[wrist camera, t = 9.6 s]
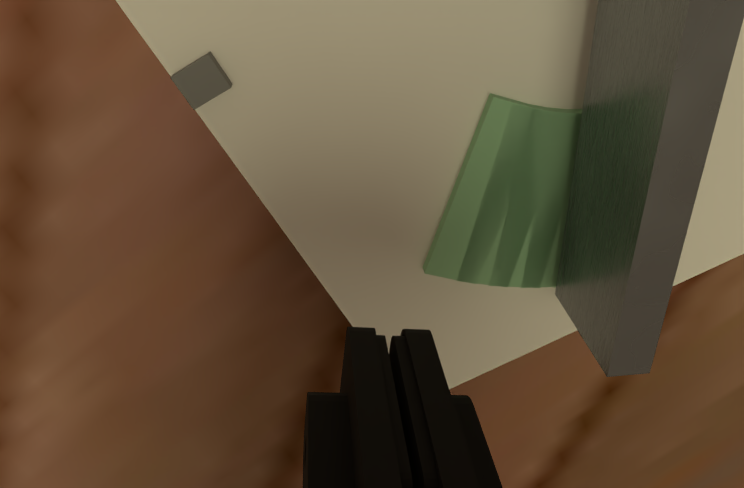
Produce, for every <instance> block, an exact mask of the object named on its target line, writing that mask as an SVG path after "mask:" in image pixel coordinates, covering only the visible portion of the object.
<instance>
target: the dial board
mask: <svg viewBox="0 0 744 488" xmlns="http://www.w3.org/2000/svg"><path fill="white" fill-rule="evenodd" d="M116 2H117V3H118V4H119V6H120V7H121V9H122V10H123V11H124V13H125V14H126V15H127V17H128V18H129V20H130V21H131V22H132V24H133V25H134V26H135V28H136V29H137V31H138V32H139V33H140V35H141V36H142V37H143V39H144V40H145V42H146V43H147V44H148V46H149V47H150V48H151V50H152V51H153V53H154V54H155V55H156V57H157V58H158V59H159V61H160V62H161V64H162V65H163V66H164V68H165V69H166V70H167V72H168V73H169V75H170V76H171V79H172V81H173V82H174V83H175V85H176V86H177V87H178V89H179V90H180V92H181V93H182V94H183V96H184V97H185V98H186V100H187V101H188V103H189V104H190V105H191V107H192V108H193V109H194V110H196V112H197V113H198V115H199V116H200V117H201V119H202V120H203V121H204V123H205V124H206V126H207V127H208V128H209V130H210V131H211V132H212V134H213V135H214V137H215V138H216V139H217V141H218V142H219V143H220V145H221V146H222V148H223V149H224V150H225V152H226V153H227V154H228V156H229V157H230V159H231V160H232V161H233V163H234V164H235V165H236V167H237V168H238V170H239V171H240V172H241V174H242V175H243V176H244V178H245V179H246V181H247V182H248V183H249V185H250V186H251V187H252V189H253V190H254V192H255V193H256V194H257V196H258V197H259V198H260V200H261V201H262V203H263V204H264V205H265V207H266V208H267V209H268V211H269V212H270V214H271V215H272V216H273V218H274V219H275V220H276V222H277V223H278V225H279V226H280V227H281V229H282V230H283V231H284V233H285V234H286V236H287V237H288V238H289V240H290V241H291V242H292V244H293V245H294V247H295V248H296V249H297V251H298V252H299V253H300V255H301V256H302V258H303V259H304V260H305V262H306V263H307V264H308V266H309V267H310V269H311V270H312V271H313V273H314V274H315V275H316V277H317V278H318V280H319V281H320V282H321V284H322V285H323V286H324V288H325V289H326V291H327V292H328V293H329V295H330V296H331V297H332V299H333V300H334V302H335V303H336V304H337V306H338V307H339V308H340V310H341V311H342V313H343V314H344V315H345V317H346V318H347V319H348V321H349V322H350V324H351V325H352V326H353V327H368V328H375V330H376V335H385V337H386V342H387V347H388V353H389V349H390V342H391V338H392V336H400V335H401V331H402V330H403V329H424V330H430V331H431V333H432V336H433V339H434V342H435V346H436V349H437V352H438V355H439V359H440V362H441V365H442V368H443V371H444V375H445V378H446V381H447V384H448V387H449V389H451V388H453V387H455V386H458V385H460V384H462V383H464V382H466V381H468V380H471V379H473V378H475V377H477V376H479V375H481V374H484V373H486V372H488V371H490V370H492V369H494V368H497V367H499V366H501V365H503V364H505V363H507V362H510V361H512V360H514V359H516V358H518V357H520V356H523V355H525V354H527V353H529V352H531V351H533V350H536V349H538V348H540V347H542V346H544V345H546V344H549V343H551V342H553V341H555V340H557V339H559V338H562V337H564V336H566V335H568V334H570V333H572V332H575V331H577V328H576V327H575V325H574V324H573V322H572V320H571V319H570V317H569V316H568V314H567V312H566V311H565V309H564V308H563V306H562V305H561V303H560V301H559V300H558V298H557V297H556V295H555V290H556V283H557V276H558V270H559V263H560V256H561V249H562V243H563V236H564V229H565V222H566V216H567V209H568V202H569V195H570V189H571V182H572V175H573V168H574V162H575V155H576V148H577V141H578V135H579V128H580V121H581V114H582V108H583V101H584V94H585V87H586V81H587V74H588V67H589V60H590V54H591V47H592V40H593V33H594V27H595V20H596V13H597V6H598V0H116ZM742 254H744V19H743V23H742V26H741V30H740V34H739V38H738V42H737V45H736V49H735V53H734V57H733V60H732V64H731V68H730V72H729V75H728V79H727V83H726V87H725V91H724V94H723V98H722V102H721V106H720V109H719V113H718V117H717V121H716V124H715V128H714V132H713V136H712V140H711V143H710V147H709V151H708V155H707V158H706V162H705V166H704V170H703V173H702V177H701V181H700V185H699V188H698V192H697V196H696V200H695V204H694V207H693V211H692V215H691V219H690V222H689V226H688V230H687V234H686V237H685V241H684V245H683V249H682V253H681V256H680V260H679V264H678V268H677V271H676V275H675V279H674V283H673V286H674V285H677V284H679V283H681V282H683V281H685V280H687V279H690V278H692V277H694V276H696V275H698V274H700V273H703V272H705V271H707V270H709V269H711V268H713V267H716V266H718V265H720V264H722V263H724V262H726V261H729V260H731V259H733V258H735V257H737V256H739V255H742Z"/></svg>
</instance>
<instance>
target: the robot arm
mask: <svg viewBox="0 0 744 488" xmlns="http://www.w3.org/2000/svg"><path fill="white" fill-rule="evenodd" d="M303 488H502V485H501V482H500V479H499V476H498V473H497V471H496V468H495V465H494V462H493V459H492V456H491V454H490V451H489V448H488V445H487V442H486V439H485V437H484V434H483V431H482V428H481V425H480V422H479V420H478V417H477V414H476V411H475V408H474V405H473V403H472V401H471V399H470V397H468V396H467V395H451V394H450V391H449V387H448V384H447V381H446V378H445V375H444V371H443V368H442V365H441V362H440V359H439V355H438V352H437V349H436V346H435V342H434V339H433V336H432V333H431V331H430V330H424V329H403V330H402V331H401V335H400V336H392V338H391V342H390V349H389V353H388V347H387V342H386V337H385V335H376V330H375V328H368V327H347V331H346V340H345V349H344V359H343V368H342V377H341V387H340V393H324V392H308V393H307V402H306V415H305V430H304V452H303Z"/></svg>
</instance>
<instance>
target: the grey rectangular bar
mask: <svg viewBox="0 0 744 488" xmlns="http://www.w3.org/2000/svg"><path fill="white" fill-rule="evenodd" d="M743 19H744V0H598V6H597V13H596V20H595V27H594V33H593V40H592V47H591V54H590V60H589V67H588V74H587V81H586V87H585V94H584V101H583V108H582V114H581V121H580V128H579V135H578V141H577V148H576V155H575V162H574V168H573V175H572V182H571V189H570V195H569V202H568V209H567V216H566V222H565V229H564V236H563V243H562V249H561V256H560V263H559V270H558V276H557V283H556V290H555V295H556V297H557V298H558V300H559V301H560V303H561V305H562V306H563V308H564V309H565V311H566V312H567V314H568V316H569V317H570V319H571V320H572V322H573V324H574V325H575V327H576V328H577V330H578V331H579V333H580V335H581V336H582V338H583V339H584V341H585V343H586V344H587V346H588V347H589V349H590V350H591V352H592V354H593V355H594V357H595V358H596V360H597V362H598V363H599V365H600V366H601V368H602V369H603V371H604V373H605V374H606V376H607V377H610V376H621V375H633V374H644V373H650V369H651V366H652V362H653V358H654V354H655V350H656V347H657V343H658V339H659V335H660V332H661V328H662V324H663V320H664V317H665V313H666V309H667V305H668V301H669V298H670V294H671V290H672V286H673V283H674V279H675V275H676V271H677V268H678V264H679V260H680V256H681V253H682V249H683V245H684V241H685V237H686V234H687V230H688V226H689V222H690V219H691V215H692V211H693V207H694V204H695V200H696V196H697V192H698V188H699V185H700V181H701V177H702V173H703V170H704V166H705V162H706V158H707V155H708V151H709V147H710V143H711V140H712V136H713V132H714V128H715V124H716V121H717V117H718V113H719V109H720V106H721V102H722V98H723V94H724V91H725V87H726V83H727V79H728V75H729V72H730V68H731V64H732V60H733V57H734V53H735V49H736V45H737V42H738V38H739V34H740V30H741V26H742V23H743Z"/></svg>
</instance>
